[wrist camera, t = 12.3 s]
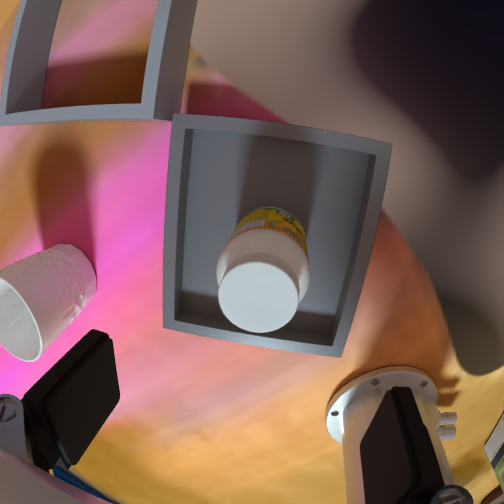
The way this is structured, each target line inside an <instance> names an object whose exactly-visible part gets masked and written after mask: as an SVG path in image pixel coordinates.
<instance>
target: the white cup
mask: <svg viewBox="0 0 504 504" xmlns="http://www.w3.org/2000/svg"><path fill="white" fill-rule="evenodd" d="M95 292H96V275H95V272H94V270H93V267H92V264H91V262H90V261H89V260H88V258H87V257H86V256H85V254H84V253H83V252H82V251H81V250H79V249H78V248H76V247H74V246H73V245H71V244H57V245H55V246H53V247H51V248H49V249H47V250H44V251H41V252H37V253H35V254H33V255H31V256H29V257H26V258H23V259H21V260H19V261H17V262H15V263H13V264H11V265H9V266H7V267H5V268H3V269H1V270H0V344H1V345H2V346H3V347H4V348H5V349H6V350H7V351H8V352H9V353H11V354H12V355H13V356H15V357H16V358H18V359H20V360H23V361H26V362H33V361H36V360H37V359H38V358H39V357H40V356H41V355H42V354H43V353H44V352H45V351H46V350H47V348H48V347H49V346H50V345H51V344H52V343H53V342H54V341H55V340H56V339H57V338H58V337H59V335H60V334H61V333H62V332H63V331H64V330H65V329H66V328H67V327H68V326H69V324H70V323H71V322H72V321H73V320H74V319H75V318H76V317H77V316H78V314H79V313H80V312H81V310H82V309H83V308H84V307H85V306H86V305H87V304H88V303H89V302H90V301H91V300H92V298H93V296H94V294H95Z"/></svg>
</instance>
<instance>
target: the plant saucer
mask: <svg viewBox="0 0 504 504" xmlns="http://www.w3.org/2000/svg"><path fill="white" fill-rule="evenodd" d="M482 504H504V493H503V490H502V488H501V487H500V488H499V489H497V490H496V491H495V492H493V493H492V494H491V495H489V496H488V497H487V498H486V499H485V500H484V501H483V502H482Z"/></svg>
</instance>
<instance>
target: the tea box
mask: <svg viewBox="0 0 504 504" xmlns="http://www.w3.org/2000/svg"><path fill="white" fill-rule="evenodd" d="M484 450H485V452H486V454H487V456H488V458H489V460H490V463H491V464H492V467H493V469H494V472H495V474H496V476H497V479H498V481H499V483H500V486H501V488H502V490H503V493H504V413H503V415H502V417H501V419H500V421H499V422H498V424H497V426H496V428H495V429H494V431H493V433H492V435H491V436H490V438H489V440H488V441H487V443H486V444H485V446H484Z"/></svg>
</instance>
